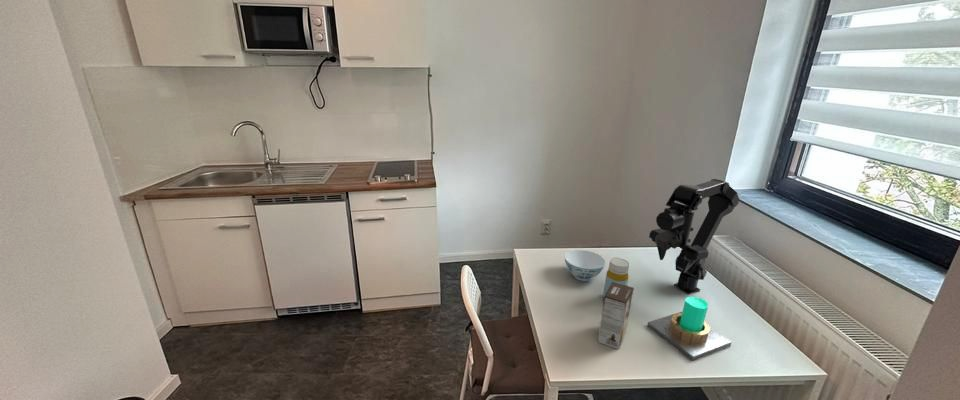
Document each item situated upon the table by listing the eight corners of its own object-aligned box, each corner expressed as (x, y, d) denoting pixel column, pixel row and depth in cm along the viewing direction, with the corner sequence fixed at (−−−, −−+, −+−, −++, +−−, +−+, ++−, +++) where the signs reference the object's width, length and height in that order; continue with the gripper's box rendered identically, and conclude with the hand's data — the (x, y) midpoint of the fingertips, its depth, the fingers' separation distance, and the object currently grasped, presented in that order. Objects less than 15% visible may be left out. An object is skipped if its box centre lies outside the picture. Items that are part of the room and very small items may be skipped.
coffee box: (605, 325, 117) (612, 280, 112) (626, 332, 114) (634, 287, 109) (596, 342, 110) (604, 295, 105) (619, 350, 107) (627, 302, 102)
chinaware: (607, 274, 147) (609, 256, 145) (596, 291, 135) (598, 272, 133) (570, 263, 155) (572, 246, 152) (556, 279, 143) (558, 261, 140)
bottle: (625, 307, 127) (632, 268, 122) (603, 304, 128) (609, 265, 123) (622, 296, 133) (628, 258, 128) (601, 293, 134) (607, 256, 129)
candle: (697, 327, 115) (706, 293, 111) (702, 340, 110) (712, 305, 106) (676, 323, 117) (684, 290, 113) (680, 335, 111) (688, 301, 107)
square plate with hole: (683, 314, 124) (686, 302, 122) (730, 346, 110) (734, 333, 108) (646, 326, 117) (649, 314, 116) (692, 361, 104) (695, 347, 102)
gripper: (641, 216, 128) (633, 257, 133) (689, 238, 112) (678, 284, 117) (665, 212, 132) (657, 252, 137) (714, 233, 116) (703, 277, 121)
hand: (672, 266), depth 128 cm, fingers open, 9 cm apart
